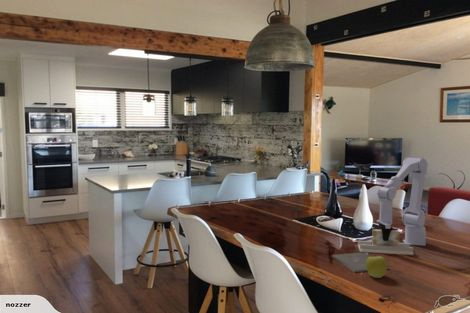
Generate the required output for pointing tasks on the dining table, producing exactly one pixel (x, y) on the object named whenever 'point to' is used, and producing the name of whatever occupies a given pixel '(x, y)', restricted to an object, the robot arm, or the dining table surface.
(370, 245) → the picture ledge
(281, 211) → the dining table surface
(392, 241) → the oak frame
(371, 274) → the apple
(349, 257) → the play button award
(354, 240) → the dining table surface
